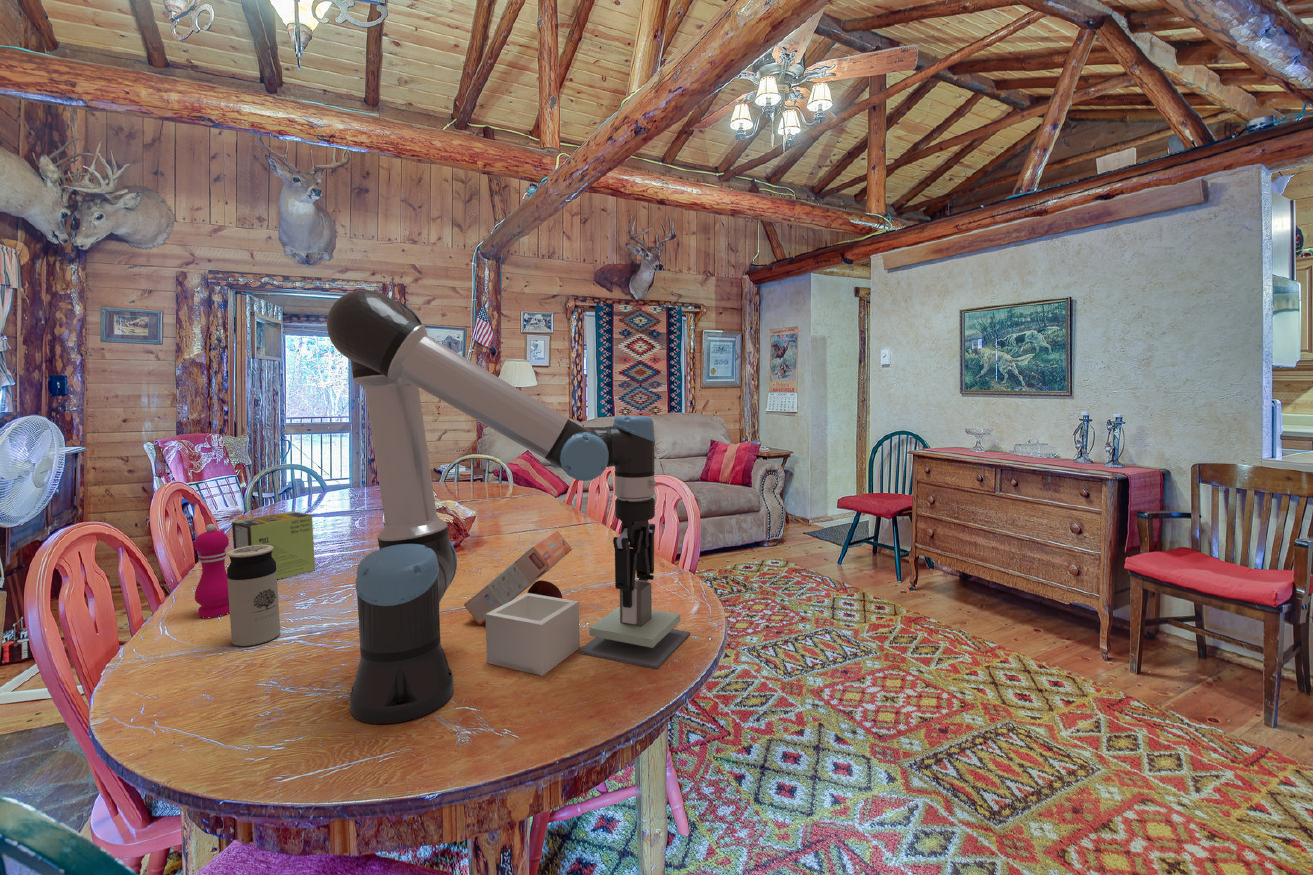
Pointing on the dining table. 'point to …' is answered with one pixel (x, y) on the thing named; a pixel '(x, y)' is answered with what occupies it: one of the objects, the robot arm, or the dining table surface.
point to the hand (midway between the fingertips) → (635, 617)
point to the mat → (636, 650)
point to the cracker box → (518, 576)
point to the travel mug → (253, 595)
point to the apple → (545, 589)
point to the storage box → (532, 633)
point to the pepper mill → (212, 573)
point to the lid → (648, 622)
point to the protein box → (280, 540)
